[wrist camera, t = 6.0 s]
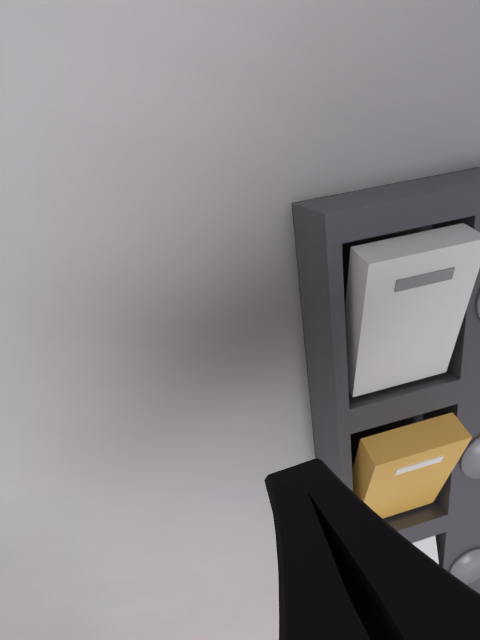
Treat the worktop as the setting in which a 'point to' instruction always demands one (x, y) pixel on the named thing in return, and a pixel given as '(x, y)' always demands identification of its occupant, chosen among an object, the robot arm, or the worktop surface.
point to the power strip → (409, 398)
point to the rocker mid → (408, 464)
